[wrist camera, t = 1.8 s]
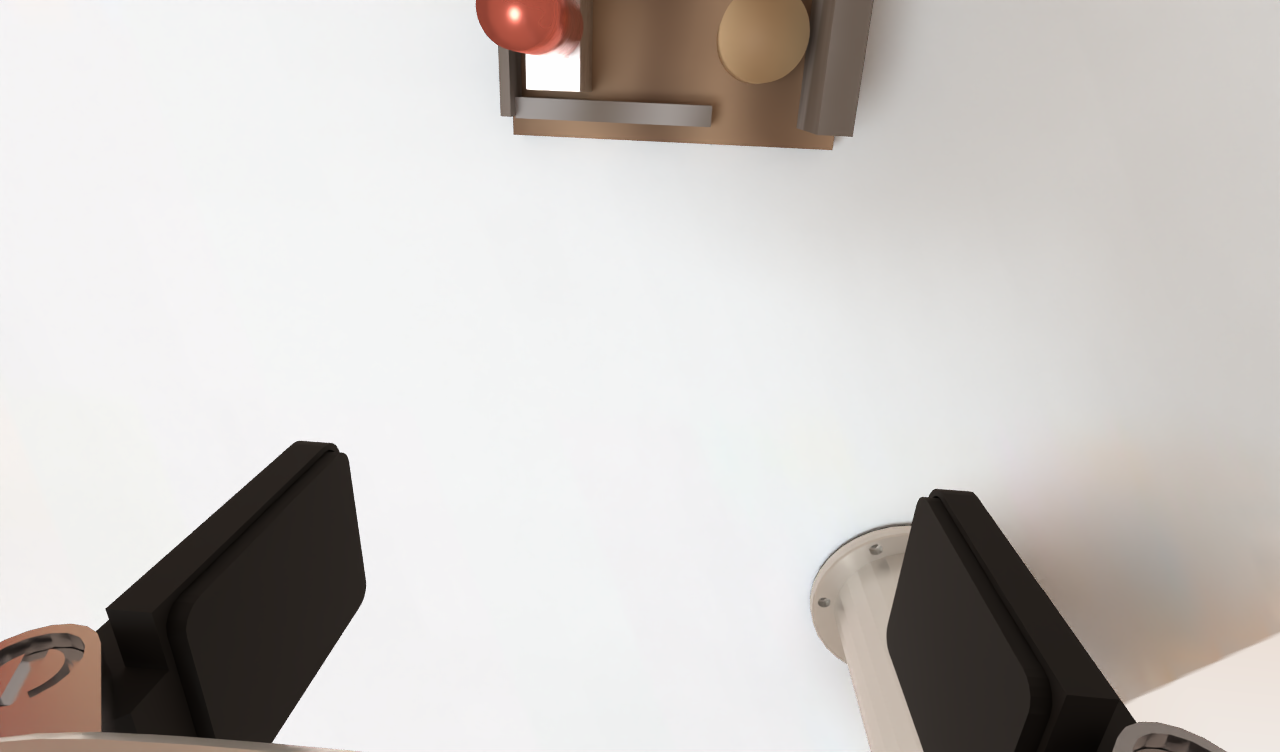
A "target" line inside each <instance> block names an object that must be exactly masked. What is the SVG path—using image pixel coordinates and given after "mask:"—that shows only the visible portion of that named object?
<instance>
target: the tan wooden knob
mask: <svg viewBox="0 0 1280 752" xmlns="http://www.w3.org/2000/svg"><path fill="white" fill-rule="evenodd" d="M809 36H810V23H809V17H808V14H807V10H806V8H805V6H804V4H803V3H802V1H801V0H733V1H732V2H731V3H730V5H729V6H728V8H727V9H726V11H725V13H724V16H723V18H722V21H721V23H720V26H719V29H718V33H717V52H718V56H719V59H720V62H721V64H722V66H723V67H724V69H725V70H726V71H727V72H728V73H729V74H730V75H731V76H732V77H733V78H735V79H736V80H738V81H740V82H743V83H747V84H761V83H768V82H772V81H776V80H778V79H780V78H782V77H784V76H786V75H787V74H788V73H790V72H791V71H792V70H793V69H794V68H795V67H796V66H797V65H798V63H799V62H800V61H801V59H802V57H803V55H804V53H805V51H806V49H807V45H808V42H809Z"/></svg>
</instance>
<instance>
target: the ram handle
mask: <svg viewBox="0 0 1280 752" xmlns="http://www.w3.org/2000/svg"><path fill="white" fill-rule="evenodd" d="M476 12H477V16H478V20H479V23H480V25H481V27H482V29H483V30H484V32H485V33H486V35H487V36H488V37H489V38H490V39H491V40H492V41H493V42H494V43H496V44H497V45H499V46H500V47H503V48H505V49H508V50H512V51H516V52H520V53H525V54H526V86H527V89H532V90H554V91H576V92H592V25H593V0H476Z"/></svg>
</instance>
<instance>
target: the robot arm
mask: <svg viewBox="0 0 1280 752" xmlns="http://www.w3.org/2000/svg"><path fill="white" fill-rule="evenodd" d="M365 591H366V578H365V571H364V564H363V557H362V550H361V543H360V536H359V529H358V522H357V515H356V508H355V501H354V494H353V487H352V480H351V473H350V466H349V460H348V457H347V455H346V454H345V453H340V452H339V450H338V448H337V446H336V445H334V444H333V443H322V442H309V441H297V442H295V443H293V444H292V445H291V446H290V447H289V448H287V449H286V450H285V451H284V452H283V453H282V454H281V455H280V456H278V457H277V458H276V459H275V460H274V461H273V462H272V463H270V464H269V465H268V466H267V467H266V468H265V469H264V470H263V471H261V472H260V473H259V474H258V475H257V476H256V477H255V478H253V479H252V480H251V481H250V482H249V483H248V484H247V485H246V486H244V487H243V488H242V489H241V490H240V491H239V492H238V493H236V494H235V495H234V496H233V497H232V498H231V499H230V500H228V501H227V502H226V503H225V504H224V505H223V506H222V507H221V508H219V509H218V510H217V511H216V512H215V513H214V514H213V515H211V516H210V517H209V518H208V519H207V520H206V521H205V522H204V523H202V524H201V525H200V526H199V527H198V528H197V529H196V530H194V531H193V532H192V533H191V534H190V535H189V536H188V537H186V538H185V539H184V540H183V541H182V542H181V543H180V544H179V545H177V546H176V547H175V548H174V549H173V550H172V551H171V552H169V553H168V554H167V555H166V556H165V557H164V558H163V559H162V560H160V561H159V562H158V563H157V564H156V565H155V566H154V567H152V568H151V569H150V570H149V571H148V572H147V573H146V574H145V575H143V576H142V577H141V578H140V579H139V580H138V581H137V582H135V583H134V584H133V585H132V586H131V587H130V588H129V589H127V590H126V591H125V592H124V593H123V594H122V595H121V596H120V597H118V598H117V599H116V600H115V601H114V602H113V603H112V604H110V605H109V606H108V607H107V608H106V612H107V615H108V618H109V620H108V621H107V622H106V623H105V624H104V625H102V626H101V627H100V628H99V629H98V630H97V631H96V632H95V631H94V630H92V629H90V628H89V627H87V626H82V625H76V624H62V625H51V626H46V627H42V628H38V629H34V630H30V631H27V632H24V633H22V634H19V635H16V636H14V637H11V638H8V639H6V640H4V641H2V642H0V752H360V751H350V750H339V749H328V748H317V747H306V746H295V745H284V744H274V743H272V742H273V740H274V739H275V737H276V736H277V734H278V732H279V731H280V729H281V728H282V726H283V725H284V723H285V722H286V720H287V718H288V717H289V715H290V714H291V712H292V711H293V709H294V708H295V706H296V705H297V703H298V701H299V700H300V698H301V697H302V695H303V694H304V692H305V691H306V689H307V688H308V686H309V684H310V683H311V681H312V680H313V678H314V677H315V675H316V674H317V672H318V671H319V669H320V667H321V666H322V664H323V663H324V661H325V660H326V658H327V657H328V655H329V653H330V652H331V650H332V649H333V647H334V646H335V644H336V643H337V641H338V640H339V638H340V636H341V635H342V633H343V632H344V630H345V629H346V627H347V626H348V624H349V623H350V621H351V619H352V618H353V616H354V615H355V613H356V612H357V610H358V609H359V607H360V605H361V603H362V601H363V599H364V595H365ZM810 610H811V615H812V620H813V624H814V627H815V629H816V632H817V635H818V637H819V638H820V640H821V641H822V642H823V644H824V645H825V647H826V648H827V649H828V650H829V651H830V652H831V653H832V654H833V655H835V656H836V657H837V658H838V659H840V660H841V661H843V662H844V663H846V664H847V665H848V668H849V672H850V676H851V679H852V683H853V687H854V691H855V694H856V698H857V702H858V705H859V709H860V713H861V717H862V720H863V724H864V728H865V731H866V735H867V739H868V743H869V746H870V750H871V752H1226V751H1224V750H1223V749H1221V748H1219V747H1218V746H1216V745H1215V744H1213V743H1211V742H1210V741H1208V740H1206V739H1205V738H1202V737H1200V736H1198V735H1195V734H1193V733H1191V732H1188V731H1186V730H1184V729H1181V728H1178V727H1174V726H1170V725H1166V724H1162V723H1158V722H1138V723H1136V721H1135V720H1134V718H1133V717H1132V716H1131V714H1130V713H1129V711H1128V710H1127V708H1126V707H1125V706H1124V704H1123V703H1122V701H1121V700H1120V698H1119V697H1118V696H1117V694H1116V693H1115V691H1114V690H1113V688H1112V687H1111V686H1110V684H1109V683H1108V681H1107V680H1106V678H1105V677H1104V676H1103V674H1102V673H1101V671H1100V670H1099V669H1098V667H1097V666H1096V664H1095V663H1094V661H1093V660H1092V659H1091V657H1090V656H1089V654H1088V653H1087V651H1086V650H1085V649H1084V647H1083V646H1082V644H1081V643H1080V642H1079V640H1078V639H1077V637H1076V636H1075V634H1074V633H1073V632H1072V630H1071V629H1070V627H1069V626H1068V624H1067V623H1066V622H1065V620H1064V619H1063V617H1062V616H1061V615H1060V613H1059V612H1058V610H1057V609H1056V607H1055V606H1054V605H1053V603H1052V602H1051V600H1050V599H1049V597H1048V596H1047V595H1046V593H1045V592H1044V590H1043V589H1042V588H1041V587H1040V585H1039V584H1038V583H1037V581H1036V580H1035V578H1034V577H1033V575H1032V574H1031V573H1030V571H1029V570H1028V568H1027V567H1026V565H1025V564H1024V563H1023V561H1022V560H1021V558H1020V557H1019V556H1018V554H1017V553H1016V551H1015V550H1014V548H1013V547H1012V546H1011V544H1010V543H1009V541H1008V540H1007V538H1006V537H1005V536H1004V534H1003V533H1002V531H1001V530H1000V528H999V527H998V526H997V524H996V523H995V521H994V520H993V519H992V517H991V516H990V514H989V513H988V511H987V510H986V509H985V507H984V506H983V504H982V503H981V501H980V500H979V499H978V497H977V496H976V495H975V494H974V493H973V492H969V491H956V490H942V489H934V490H933V491H932V492H931V493H930V495H929V497H921V498H920V499H919V500H918V502H917V505H916V509H915V513H914V517H913V521H912V526H898V527H889V528H885V529H881V530H876V531H872V532H870V533H867V534H865V535H863V536H860V537H858V538H856V539H854V540H852V541H851V542H849V543H847V544H846V545H844V546H842V547H841V548H840V549H839V550H838V551H836V552H835V553H834V554H833V555H832V556H831V557H829V559H828V560H827V561H826V562H825V564H824V565H823V566H822V568H821V569H820V570H819V572H818V574H817V576H816V578H815V580H814V582H813V586H812V591H811V595H810Z"/></svg>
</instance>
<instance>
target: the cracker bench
mask: <svg viewBox="0 0 1280 752" xmlns="http://www.w3.org/2000/svg"><path fill="white" fill-rule="evenodd" d="M732 1H733V0H593V25H592V92H576V91H554V90H532V89H527V86H526V54H525V53H520V52H516V51H512V50H508V49H505V48H503V47H500V46H499V45H498V53H499V81H500V108H501V116H508V117H512V116H513V129H514V135H534V136H554V137H575V138H596V139H616V140H637V141H657V142H678V143H699V144H719V145H740V146H761V147H781V148H802V149H823V150H832V148H833V141H834V136H848V137H853V130H854V124H855V117H856V111H857V104H858V98H859V91H860V85H861V78H862V72H863V65H864V59H865V52H866V46H867V39H868V33H869V27H870V20H871V14H872V7H873V1H874V0H801V1H802V3H803V4H804V6H805V8H806V10H807V14H808V17H809V23H810V36H809V42H808V45H807V49H806V51H805V53H804V55H803V57H802V59H801V61H800V62H799V63H798V65H797V66H796V67H795V68H794V69H793V70H792V71H791V72H790V73H788V74H787V75H786V76H784V77H782V78H780V79H778V80H776V81H772V82H768V83H761V84H747V83H743V82H740V81H738V80H736V79H735V78H733V77H732V76H731V75H730V74H729V73H728V72H727V71H726V70H725V69H724V67H723V66H722V64H721V62H720V59H719V56H718V52H717V33H718V29H719V26H720V23H721V21H722V18H723V16H724V13H725V11H726V9H727V8H728V6H729V5H730V3H731V2H732Z"/></svg>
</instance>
